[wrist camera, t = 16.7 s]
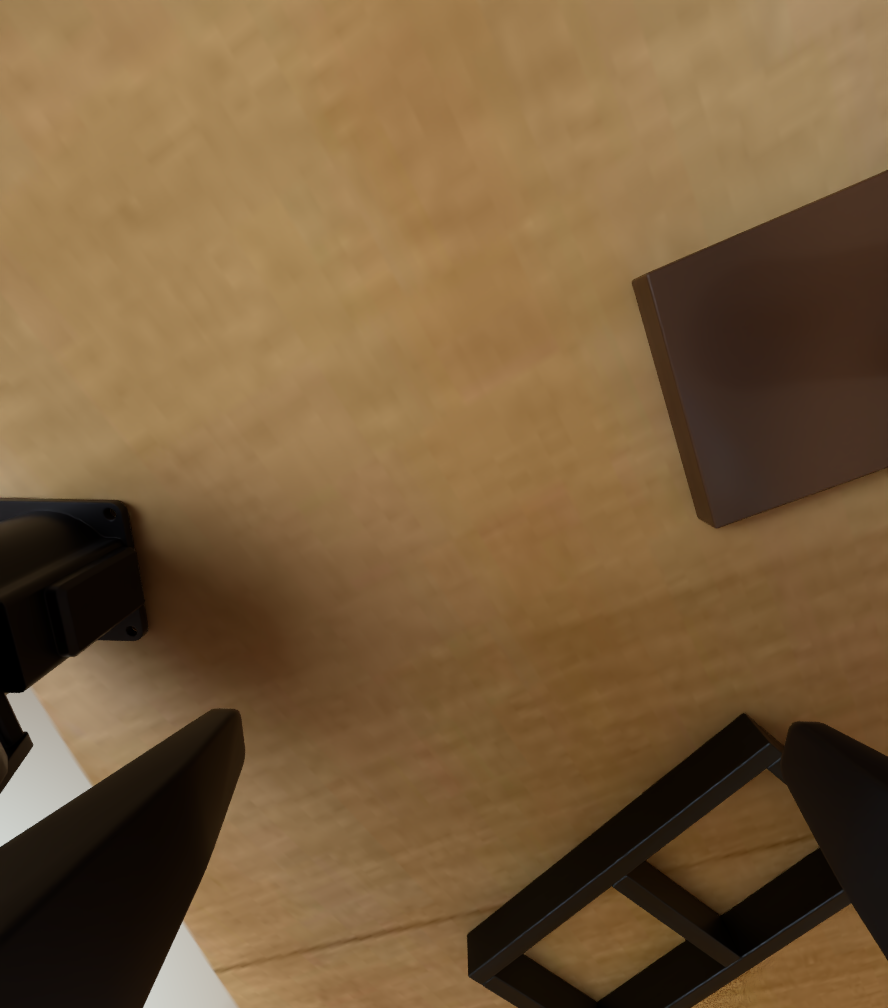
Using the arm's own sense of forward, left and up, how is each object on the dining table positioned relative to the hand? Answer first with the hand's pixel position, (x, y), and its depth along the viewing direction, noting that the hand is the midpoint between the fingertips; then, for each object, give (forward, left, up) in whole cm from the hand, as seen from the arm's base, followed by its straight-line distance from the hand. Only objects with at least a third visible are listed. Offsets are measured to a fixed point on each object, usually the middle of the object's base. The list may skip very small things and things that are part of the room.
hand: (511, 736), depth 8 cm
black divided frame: (+11, -21, -13) cm, 27 cm away
